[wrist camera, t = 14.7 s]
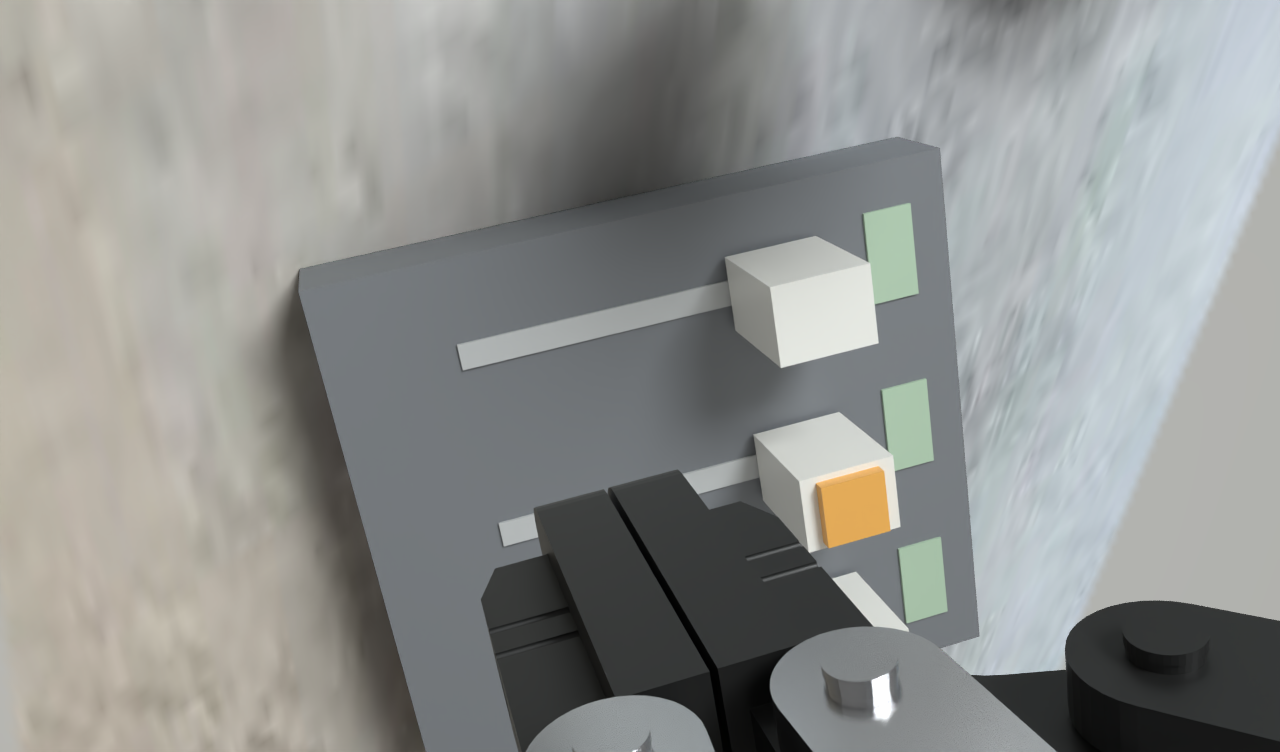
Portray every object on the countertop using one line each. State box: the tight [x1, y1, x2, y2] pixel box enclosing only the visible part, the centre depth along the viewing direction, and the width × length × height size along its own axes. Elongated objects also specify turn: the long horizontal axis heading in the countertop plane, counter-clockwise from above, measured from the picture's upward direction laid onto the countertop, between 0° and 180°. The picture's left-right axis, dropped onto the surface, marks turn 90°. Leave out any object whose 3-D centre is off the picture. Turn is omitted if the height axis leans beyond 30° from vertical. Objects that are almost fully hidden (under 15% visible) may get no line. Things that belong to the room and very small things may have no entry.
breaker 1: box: [725, 236, 879, 368], centre depth 36 cm, size 2×3×4 cm
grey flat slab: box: [298, 137, 979, 752], centre depth 41 cm, size 18×20×3 cm
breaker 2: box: [832, 572, 909, 632], centre depth 40 cm, size 2×3×4 cm
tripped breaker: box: [753, 412, 901, 553], centre depth 38 cm, size 2×3×4 cm
